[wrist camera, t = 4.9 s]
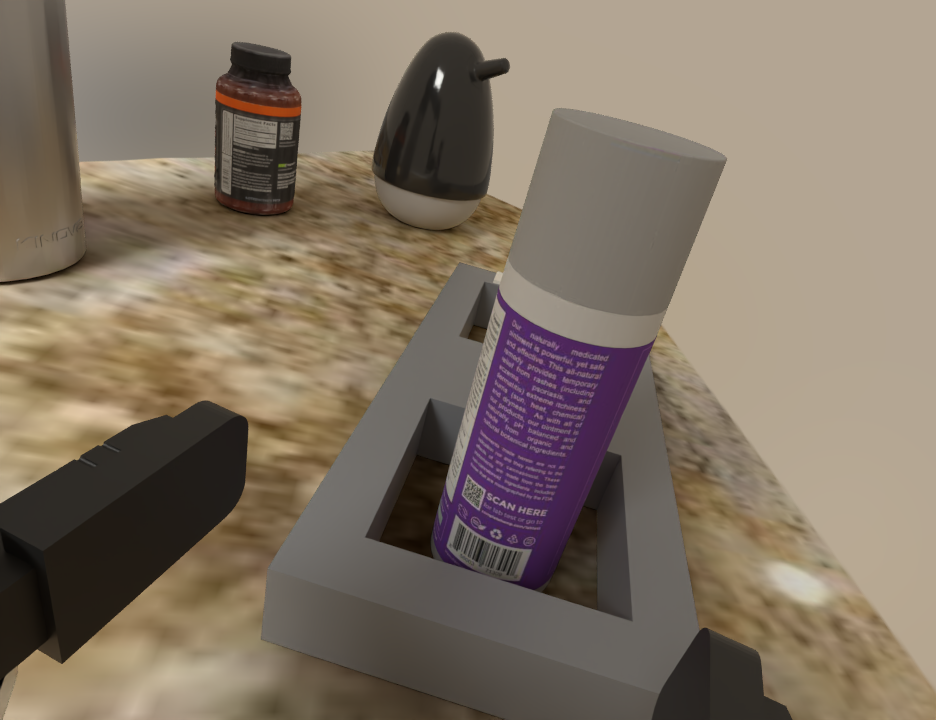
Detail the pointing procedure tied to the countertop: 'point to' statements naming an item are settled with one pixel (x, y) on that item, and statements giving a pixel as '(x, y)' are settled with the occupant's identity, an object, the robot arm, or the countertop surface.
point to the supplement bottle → (256, 131)
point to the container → (568, 337)
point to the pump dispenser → (438, 135)
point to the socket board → (473, 594)
